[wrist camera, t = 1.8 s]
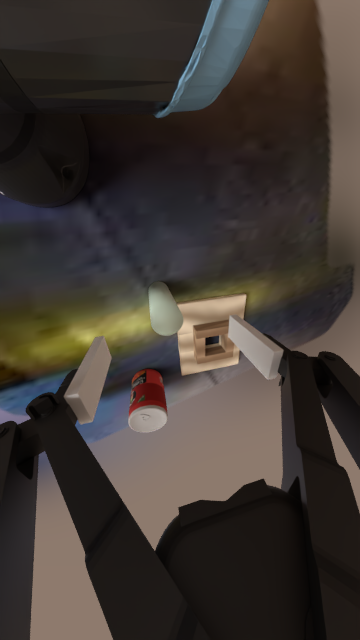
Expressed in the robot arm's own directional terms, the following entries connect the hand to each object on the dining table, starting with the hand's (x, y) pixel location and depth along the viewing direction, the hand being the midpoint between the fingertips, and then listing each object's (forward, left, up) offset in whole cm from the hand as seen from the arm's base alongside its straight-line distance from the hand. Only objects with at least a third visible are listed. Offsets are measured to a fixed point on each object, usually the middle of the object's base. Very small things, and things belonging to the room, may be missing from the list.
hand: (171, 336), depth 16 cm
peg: (0, 0, -17) cm, 17 cm away
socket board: (+13, +11, -17) cm, 24 cm away
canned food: (+23, -6, -17) cm, 29 cm away
